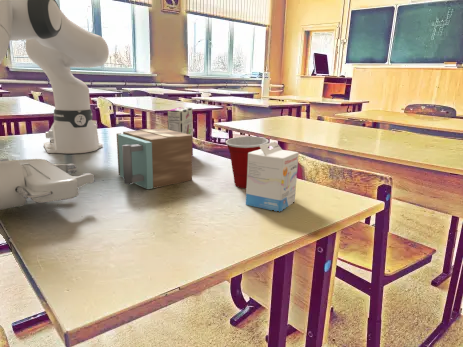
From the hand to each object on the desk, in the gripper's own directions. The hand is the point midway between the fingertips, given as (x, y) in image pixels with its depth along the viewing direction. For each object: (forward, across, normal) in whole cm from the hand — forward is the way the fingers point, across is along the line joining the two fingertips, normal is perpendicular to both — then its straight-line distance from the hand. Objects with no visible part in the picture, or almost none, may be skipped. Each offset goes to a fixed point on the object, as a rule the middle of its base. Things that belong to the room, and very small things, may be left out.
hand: (83, 172), depth 77 cm
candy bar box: (+40, +20, +7) cm, 45 cm away
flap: (+12, +5, +6) cm, 14 cm away
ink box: (+31, -27, +6) cm, 41 cm away
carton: (+22, +5, +6) cm, 23 cm away
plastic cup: (+36, -14, +6) cm, 39 cm away
